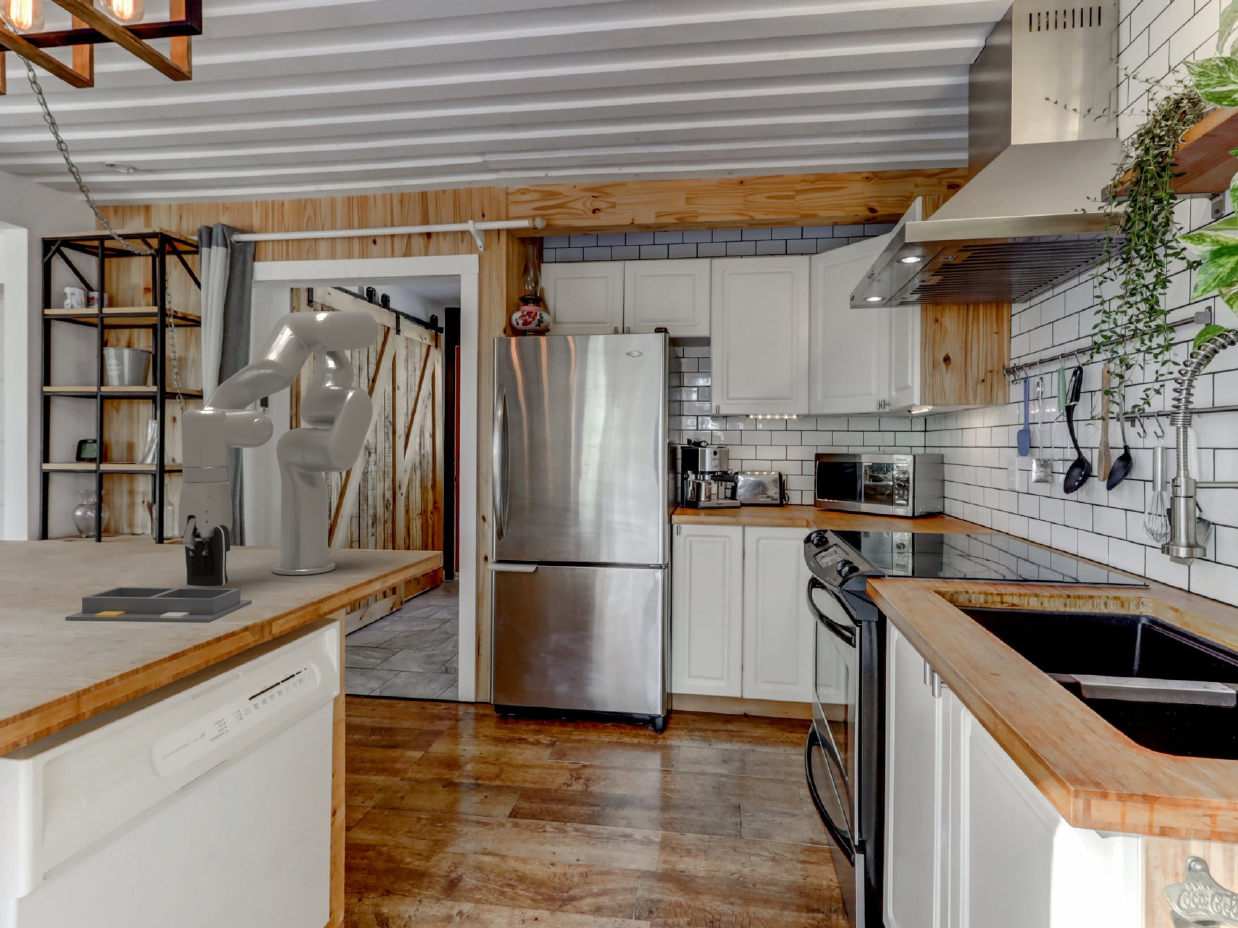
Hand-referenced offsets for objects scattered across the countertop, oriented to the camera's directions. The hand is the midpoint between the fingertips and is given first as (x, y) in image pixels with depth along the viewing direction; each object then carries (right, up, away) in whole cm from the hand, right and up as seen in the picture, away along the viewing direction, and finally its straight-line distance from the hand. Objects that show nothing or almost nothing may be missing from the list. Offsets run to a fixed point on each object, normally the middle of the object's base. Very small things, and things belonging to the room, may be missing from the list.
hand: (209, 572), depth 125 cm
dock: (+1, -4, -14) cm, 14 cm away
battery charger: (0, -2, 0) cm, 3 cm away
